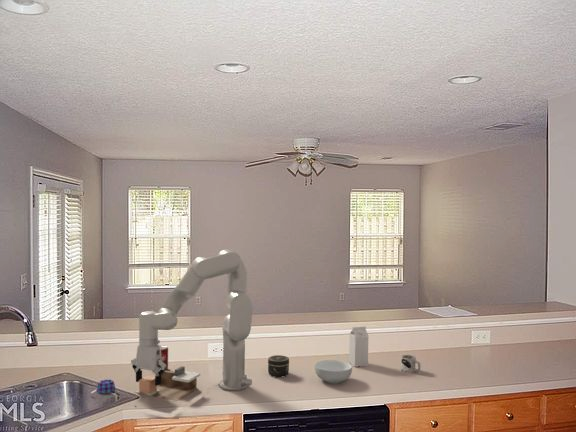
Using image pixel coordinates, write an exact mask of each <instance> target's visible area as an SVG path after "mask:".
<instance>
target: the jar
mask: <svg viewBox="0 0 576 432" xmlns="http://www.w3.org/2000/svg"><path fill="white" fill-rule="evenodd" d="M267 363H268V364H267V372H268V375H269V376H270V375H271V377H273V376H275V377H274V378H283V377H282V376H285V377H286V375H287V376H288V374H289V371H290V358H289V357H288V356H286V355H282V354H280V355H279V354H277V355H271V356H269V357H268V359H267Z"/></svg>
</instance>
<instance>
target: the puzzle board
mask: <svg viewBox="0 0 576 432" xmlns="http://www.w3.org/2000/svg"><path fill="white" fill-rule="evenodd" d="M157 371H158V370H157ZM158 372H159V371H158ZM173 376H175V371H171V370H167V371H166V370H165V371H164V372H163V374H161V384H159V385H157V390H155V391H153V392H152V393H150V394H147V393H142V392H139V389H138V390H136V391H134V392H133V393H135V394H139V395H145V396H150V397H154V398H159V399H165V400H169V401H175V402H177V401H179V400H182V398H184V397H186V396H187V395H188V394H191V393H192V392H193V391H195V390H197V389H198V388H197V385H198V383H197V382H198V380H197V379H198V377H197V378H196V379H194V380H192V381H190V382H189V383H188V382H182V381H176V380H172V377H173Z"/></svg>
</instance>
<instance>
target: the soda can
mask: <svg viewBox="0 0 576 432" xmlns="http://www.w3.org/2000/svg"><path fill="white" fill-rule="evenodd" d="M160 349H161V356H162V362H163V363H165V364H166V365H167V367H166V369H165V370H166V371H169V347H168V346H167V345H160ZM161 368H162V367H161ZM161 368H160V369H161ZM152 372H154V371H152ZM154 373H155V372H154Z"/></svg>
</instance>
